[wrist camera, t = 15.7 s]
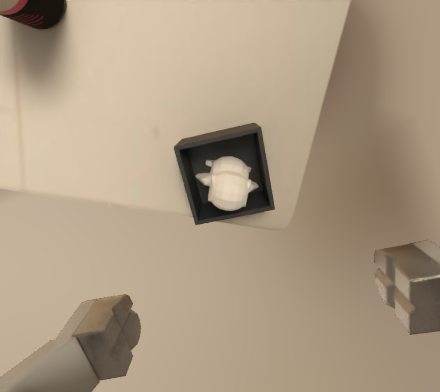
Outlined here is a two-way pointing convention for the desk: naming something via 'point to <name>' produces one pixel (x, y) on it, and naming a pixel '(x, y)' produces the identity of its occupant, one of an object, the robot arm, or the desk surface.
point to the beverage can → (33, 12)
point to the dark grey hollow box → (214, 149)
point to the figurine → (227, 183)
